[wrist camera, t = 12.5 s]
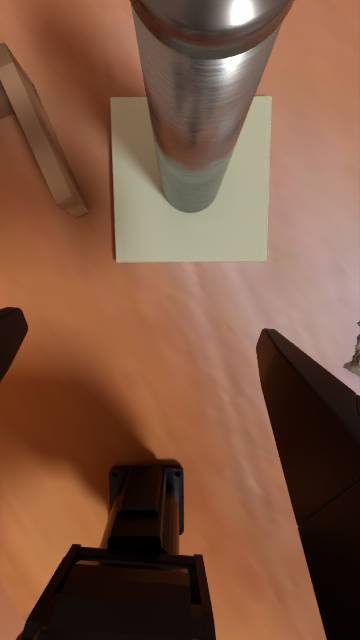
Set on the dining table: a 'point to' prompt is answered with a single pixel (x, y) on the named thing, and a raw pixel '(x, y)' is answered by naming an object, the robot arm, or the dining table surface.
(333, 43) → the dining table surface
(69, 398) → the dining table surface
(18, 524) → the dining table surface
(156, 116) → the canister
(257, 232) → the tile
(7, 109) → the cubby
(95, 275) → the dining table surface
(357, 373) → the driftwood
